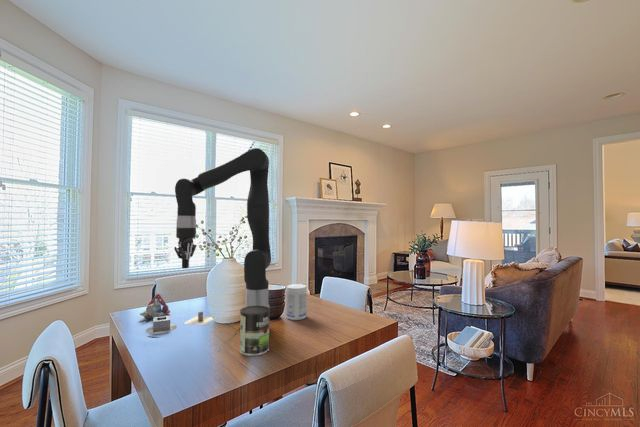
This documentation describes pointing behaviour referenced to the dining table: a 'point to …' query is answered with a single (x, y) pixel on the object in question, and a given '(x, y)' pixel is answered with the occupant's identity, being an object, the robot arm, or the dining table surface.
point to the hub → (150, 331)
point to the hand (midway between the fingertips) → (185, 268)
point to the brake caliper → (155, 308)
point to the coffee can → (254, 330)
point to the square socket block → (161, 323)
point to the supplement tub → (296, 302)
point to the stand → (199, 319)
